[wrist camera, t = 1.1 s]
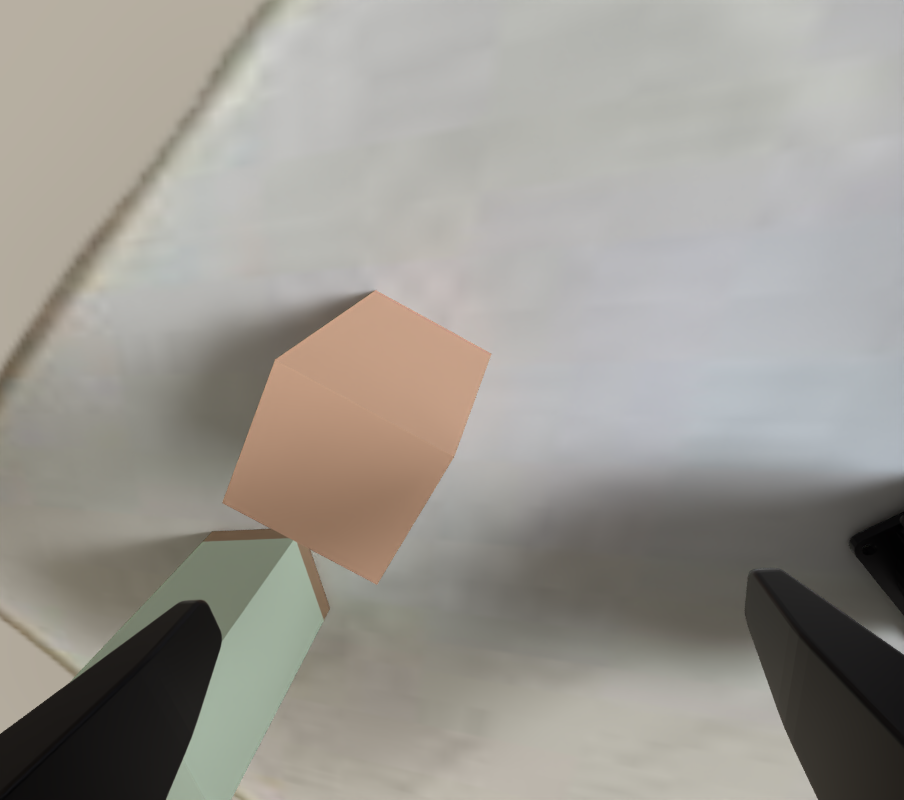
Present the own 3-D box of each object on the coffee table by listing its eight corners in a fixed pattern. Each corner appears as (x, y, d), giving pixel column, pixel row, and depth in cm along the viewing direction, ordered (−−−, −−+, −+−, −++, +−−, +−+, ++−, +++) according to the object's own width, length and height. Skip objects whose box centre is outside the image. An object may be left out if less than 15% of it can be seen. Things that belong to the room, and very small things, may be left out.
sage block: (302, 527, 26) (164, 723, 17) (329, 608, 28) (218, 823, 19) (212, 531, 27) (37, 716, 18) (244, 608, 29) (100, 811, 20)
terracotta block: (491, 353, 21) (454, 456, 13) (435, 451, 23) (377, 584, 16) (375, 290, 20) (275, 359, 13) (330, 394, 23) (222, 503, 15)
